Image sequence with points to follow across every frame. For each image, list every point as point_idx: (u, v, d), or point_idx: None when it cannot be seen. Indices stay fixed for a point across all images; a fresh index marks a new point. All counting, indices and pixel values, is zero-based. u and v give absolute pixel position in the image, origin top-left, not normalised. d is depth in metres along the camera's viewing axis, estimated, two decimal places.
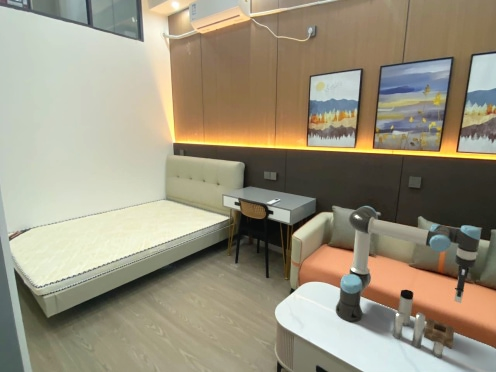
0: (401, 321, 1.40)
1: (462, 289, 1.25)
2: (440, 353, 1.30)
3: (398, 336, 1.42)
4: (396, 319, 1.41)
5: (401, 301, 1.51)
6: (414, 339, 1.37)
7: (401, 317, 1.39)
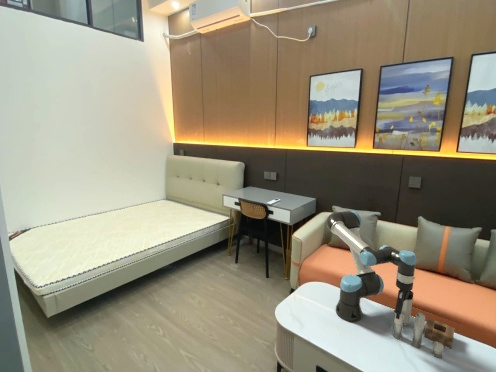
0: (401, 321, 1.40)
1: (399, 312, 1.31)
2: (440, 353, 1.30)
3: (398, 336, 1.42)
4: None
5: None
6: (414, 339, 1.37)
7: (401, 317, 1.39)
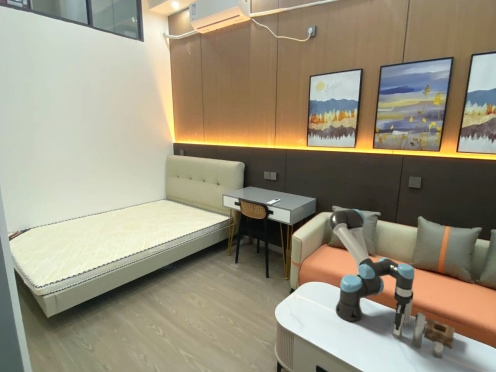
0: (401, 321, 1.40)
1: (398, 324, 1.37)
2: (440, 353, 1.30)
3: (398, 336, 1.42)
4: None
5: None
6: (414, 339, 1.37)
7: None
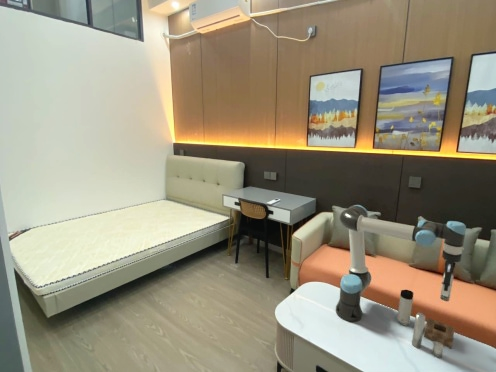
0: (450, 282, 1.34)
1: (448, 284, 1.31)
2: (440, 353, 1.30)
3: (446, 298, 1.36)
4: None
5: (401, 301, 1.51)
6: (414, 339, 1.37)
7: None
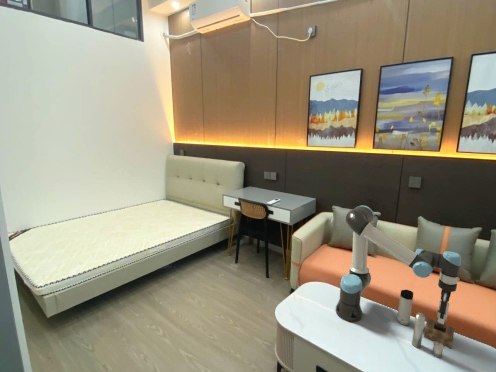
0: (446, 310, 1.37)
1: (444, 313, 1.35)
2: (440, 353, 1.30)
3: (442, 325, 1.39)
4: None
5: (401, 301, 1.51)
6: (414, 339, 1.37)
7: None
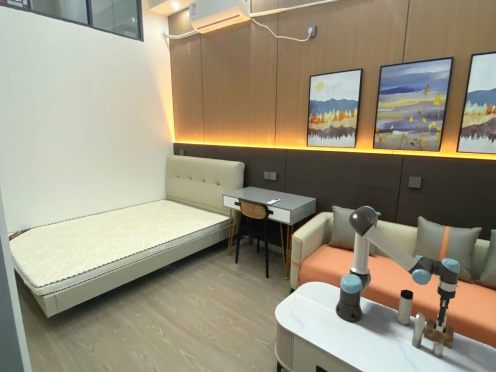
0: (444, 322, 1.39)
1: (442, 320, 1.33)
2: (440, 353, 1.30)
3: None
4: None
5: (401, 301, 1.51)
6: (414, 339, 1.37)
7: (444, 318, 1.38)
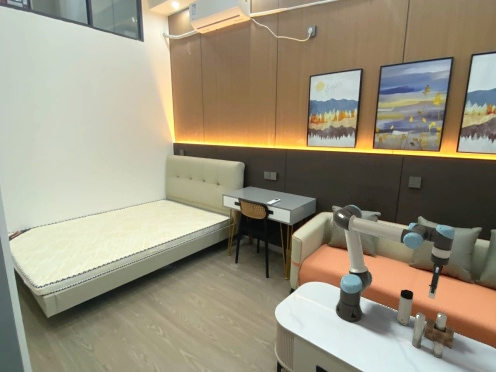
0: (444, 322, 1.39)
1: (435, 286, 1.30)
2: (440, 353, 1.30)
3: None
4: (438, 320, 1.40)
5: (401, 301, 1.51)
6: (414, 339, 1.37)
7: (444, 318, 1.38)
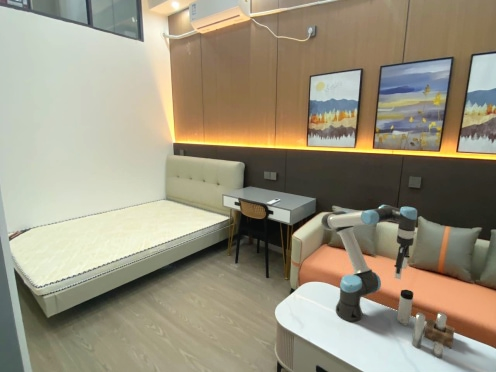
0: (444, 322, 1.39)
1: (400, 266, 1.33)
2: (440, 353, 1.30)
3: None
4: (438, 320, 1.40)
5: (401, 301, 1.51)
6: (414, 339, 1.37)
7: (444, 318, 1.38)
